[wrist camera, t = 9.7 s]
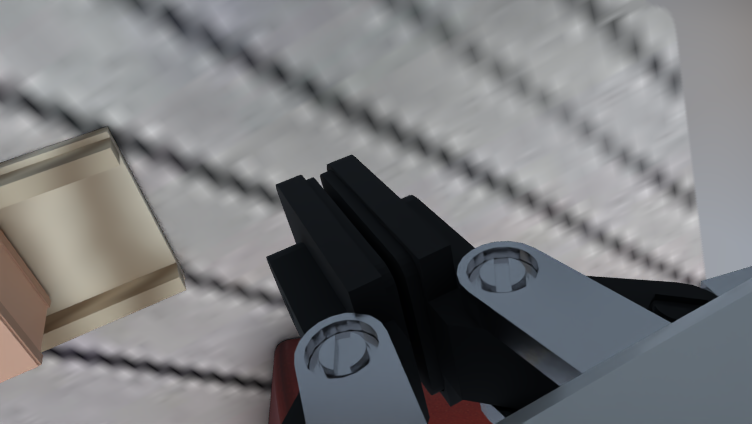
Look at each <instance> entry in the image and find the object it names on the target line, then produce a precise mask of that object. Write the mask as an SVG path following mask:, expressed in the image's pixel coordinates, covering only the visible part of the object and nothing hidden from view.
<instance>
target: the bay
mask: <svg viewBox="0 0 752 424" xmlns="http://www.w3.org/2000/svg"><path fill="white" fill-rule="evenodd" d="M0 229H1V231H2V232H3V234H4V235H5V236H6V238H7V239H8V241H9V242H10V243H11V245H12V246H13V247H14V249H15V250H16V252H17V253H18V254H19V256H20V257H21V259H22V260H23V261H24V263H25V264H26V266H27V267H28V268H29V270H30V271H31V272H32V274H33V275H34V277H35V278H36V279H37V281H38V282H39V284H40V285H41V286H42V288H43V289H44V290H45V292H46V293H47V295H48V296H49V299H50V300H51V304H50V308H48V309H47V314H46V320H45V327H44V333H43V340H42V346H41V352H43V351H46V350H48V349H50V348H53V347H55V346H57V345H60V344H62V343H64V342H67V341H69V340H71V339H74V338H76V337H78V336H81V335H83V334H85V333H88V332H90V331H92V330H94V329H97V328H99V327H101V326H104V325H106V324H108V323H111V322H113V321H115V320H118V319H120V318H122V317H125V316H127V315H129V314H132V313H134V312H136V311H139V310H141V309H143V308H146V307H148V306H150V305H153V304H155V303H157V302H160V301H162V300H164V299H167V298H169V297H171V296H174V295H176V294H178V293H181V292H183V291H185V290H186V286H185V282H184V280H185V276H184V272H183V270H182V268H181V266H180V264H179V262H178V261H177V259H176V257H175V255H174V253H173V251H172V249H171V247H170V245H169V243H168V241H167V240H166V238H165V236H164V234H163V232H162V230H161V228H160V226H159V224H158V222H157V220H156V219H155V217H154V215H153V213H152V211H151V209H150V207H149V205H148V203H147V201H146V199H145V198H144V196H143V194H142V192H141V190H140V188H139V186H138V184H137V182H136V180H135V178H134V177H133V175H132V173H131V171H130V169H129V167H128V165H127V163H126V161H125V159H124V157H123V156H122V154H121V152H120V150H119V148H118V146H117V144H116V142H115V140H114V138H113V136H112V135H111V133H110V131H109V129H108V127H104V128H101V129H98V130H95V131H93V132H90V133H87V134H84V135H81V136H78V137H75V138H72V139H69V140H66V141H63V142H60V143H57V144H55V145H52V146H49V147H46V148H43V149H40V150H37V151H34V152H31V153H28V154H25V155H22V156H19V157H17V158H14V159H11V160H8V161H5V162H2V163H0Z"/></svg>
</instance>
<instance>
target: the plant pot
mask: <svg viewBox="0 0 752 424" xmlns="http://www.w3.org/2000/svg"><path fill="white" fill-rule="evenodd" d="M300 340H301V338H297V339H289V340H286V341H283V342H282V343H280V344H279V345H278V346H277V348H276V350H275V355H274V366H273V378H272V389H271V401H270V412H269V424H282V422H283V420H284V418H285V417H286V415H287V413H288V411H289V409H290V407H291V406H292V404H293V402H294V400H295V398H296V397H297V395H298V393H299V386H298V381H297V376H296V371H295V366H294V353H295V351H296V348H297V346H298V343H299V341H300ZM421 384H422V382H421ZM422 388H423V392H424V396H425V400H426V404H427V408H428V412H429V416H430V419H429V422H428V424H493V423H491V422H490V421H489V420H488V418H487V417H486V416H485V415H484V413H483V412H482V411H481V408H480V404H479V403H478V402H472V401H466V400H462V401H461V402H459V403H457V404H455V405H453V406H451V407H450V405H449V404H448V403H447V401H446V400H445V398H444V397H443V396H442V394H441V393H440V392H438V393H436V394H434V395H431V394H430V393H429V392H428V391H427V390H426V388H425V387H424V385H423V384H422Z"/></svg>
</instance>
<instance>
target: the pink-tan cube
mask: <svg viewBox="0 0 752 424" xmlns="http://www.w3.org/2000/svg"><path fill="white" fill-rule="evenodd" d="M50 304H51V300H50V299H49V296H48V295H47V293H46V292H45V290H44V289H43V288H42V286H41V285H40V284H39V282H38V281H37V279H36V278H35V277H34V275H33V274H32V272H31V271H30V270H29V268H28V267H27V266H26V264H25V263H24V261H23V260H22V259H21V257H20V256H19V254H18V253H17V252H16V250H15V249H14V247H13V246H12V245H11V243H10V242H9V241H8V239H7V238H6V236H5V235H4V234H3V232H2V231H1V229H0V383H1V382H4V381H6V380H8V379H11V378H13V377H15V376H17V375H20V374H22V373H24V372H27V371H29V370H31V369H34V368H36V367H38V366H39V365H41V364H42V358H43V355H42V354H41V346H42V340H43V333H44V327H45V320H46V314H47V309H48V308H50Z"/></svg>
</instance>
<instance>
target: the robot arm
mask: <svg viewBox="0 0 752 424" xmlns="http://www.w3.org/2000/svg"><path fill="white" fill-rule="evenodd" d="M327 171H328V172H325V173H323V174H320V178H321V182H322V185H323V188H324V189H323V188H322V187H321V185H320V184H319V183H318V182H317V181H316V179H315V178H314V177H313V178H310V179H308V180H305V178H304V177H303V176H302V175H299V176H296V177H294V178H291V179H289V180H286V181H284V182H281V183H279V184H276V189H277V192H278V195H279V198H280V200H281V203H282V206H283V209H284V211H285V214H286V217H287V220H288V222H289V225H290V228H291V231H292V233H293V236H294V239H295V242H296V244H295V245H293V246H291V247H288V248H286V249H284V250H281V251H279V252H277V253H274V254H272V255H270V256H267V257H266V258H267V261H268V264H269V266H270V269H271V271H272V274H273V276H274V278H275V281H276V283H277V286H278V288H279V291H280V293H281V295H282V298H283V300H284V302H285V305H286V307H287V309H288V311H289V314H290V316H291V318H292V320H293V323H294V325H295V327H296V329H297V331H298V333H299V335H300V337H301V340H300V341H299V343H298V346H297V348H296V351H295V353H294V366H295V371H296V376H297V381H298V386H299V393H298V395H297V397H296V398H295V400H294V402H293V404H292V406H291V407H290V409H289V411H288V413H287V415H286V417H285V418H284V420H283V422H282V424H428V422H429V419H430V416H429V412H428V408H427V404H426V400H425V396H424V392H423V388H422V384H423V385H424V387H425V388H426V390H427V391H428V392H429V393H430V394H431V395H434V394H436V393H438V392H440V393H441V394H442V396H443V397H444V398H445V400H446V401H447V403H448V404H449V405H450V407H451V406H453V405H455V404H457V403H459V402H461V401H462V400H466V401H472V402H478V403H479V404H480V408H481V411H482V412H483V413H484V415H485V416H486V417H487V418H488V420H489V421H490V422H491V423H493V424H752V266H751V267H748V268H744V269H741V270H737V271H734V272H731V273H727V274H724V275H721V276H717V277H714V278H711V279H707V280H703V281H701V287H697V286H694V285H689V284H683V283H677V282H664V281H650V280H636V279H622V278H608V277H594V276H585V275H583V274H581V273H579V272H578V271H576V270H574V269H572V268H570V267H568V266H567V265H565V264H563V263H561V262H559V261H558V260H556V259H554V258H552V257H550V256H548V255H547V254H545V253H543V252H541V251H539V250H537V249H536V248H534V247H531V246H529V245H526V244H523V243H518V242H512V241H500V242H492V243H488V244H484V245H481V246H479V247H477V248H474V247H473V246H472V245H471V244H470V243H468V242H467V241H466V240H465V239H464V238H463V237H462V236H460V235H459V234H458V233H457V232H456V231H455V230H453V229H452V228H451V227H450V226H449V225H448V224H447V223H445V222H444V221H443V220H442V219H441V218H440V217H438V216H437V215H436V214H435V213H434V212H433V211H432V210H430V209H429V208H428V207H427V206H426V205H425V204H424V203H422V202H421V201H420V200H419V199H418V198H416V197H415V196H413V195H409V196H407V197H404V198H402V199H400V198H399V197H398V196H397V195H396V194H395V193H394V192H393V191H392V190H391V189H389V188H388V187H387V186H386V185H385V184H384V183H383V182H382V181H381V180H380V179H379V178H377V177H376V176H375V175H374V174H373V173H372V172H371V171H370V170H369V169H368V168H367V167H366V166H364V165H363V164H362V163H361V162H360V161H359V160H358V159H357V158H356V157H355V156H353V155H349V156H347V157H344V158H342V159H339V160H337V161H334V162H332V163H329V164H327ZM421 382H422V384H421Z"/></svg>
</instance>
